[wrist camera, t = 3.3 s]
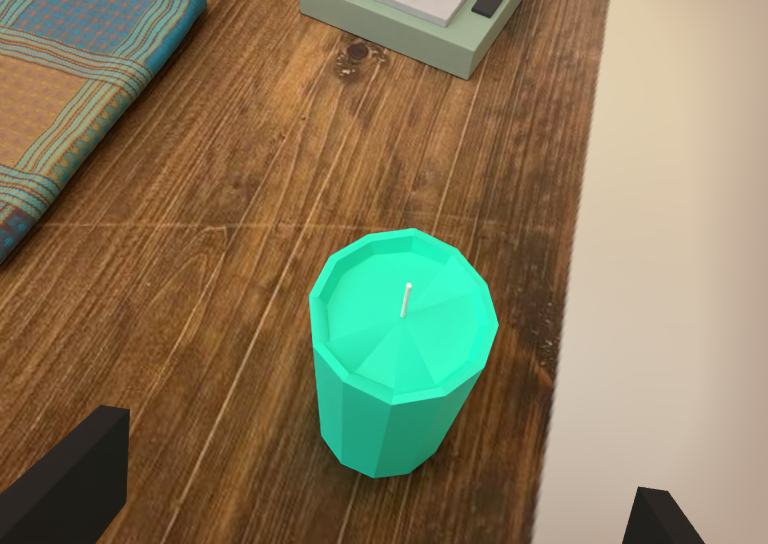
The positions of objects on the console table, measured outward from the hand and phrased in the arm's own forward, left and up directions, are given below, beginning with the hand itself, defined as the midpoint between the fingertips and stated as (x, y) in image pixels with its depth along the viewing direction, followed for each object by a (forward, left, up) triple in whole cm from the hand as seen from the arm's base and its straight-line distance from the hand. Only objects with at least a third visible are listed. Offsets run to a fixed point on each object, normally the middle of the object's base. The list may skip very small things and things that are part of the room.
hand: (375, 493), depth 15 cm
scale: (+14, -34, -11) cm, 39 cm away
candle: (+2, -5, -11) cm, 12 cm away
